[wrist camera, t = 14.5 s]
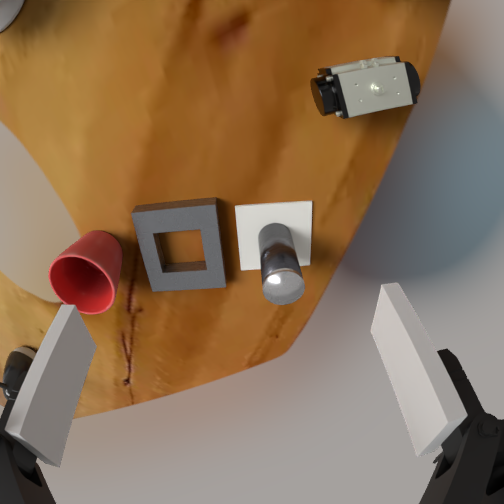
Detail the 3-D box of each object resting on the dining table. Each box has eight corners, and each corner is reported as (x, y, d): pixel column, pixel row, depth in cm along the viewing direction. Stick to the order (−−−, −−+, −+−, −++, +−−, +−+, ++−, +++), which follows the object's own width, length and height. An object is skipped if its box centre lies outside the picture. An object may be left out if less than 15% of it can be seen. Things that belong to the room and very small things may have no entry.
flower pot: (72, 215, 45) (44, 247, 37) (134, 229, 47) (115, 265, 39) (73, 268, 50) (51, 304, 42) (130, 282, 52) (115, 322, 44)
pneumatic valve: (387, 90, 37) (433, 103, 27) (308, 108, 39) (333, 124, 28) (377, 53, 34) (423, 53, 24) (296, 69, 36) (318, 70, 26)
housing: (135, 205, 45) (131, 213, 43) (216, 197, 45) (215, 204, 43) (155, 282, 52) (152, 291, 50) (226, 277, 52) (226, 287, 50)
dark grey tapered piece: (32, 339, 60) (8, 388, 48) (54, 367, 66) (36, 415, 53) (7, 340, 61) (-16, 385, 48) (29, 367, 67) (10, 411, 54)
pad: (234, 205, 46) (235, 206, 45) (311, 200, 46) (312, 201, 45) (241, 268, 52) (241, 270, 51) (309, 263, 52) (309, 265, 51)
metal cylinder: (257, 224, 47) (261, 274, 37) (291, 221, 47) (305, 270, 37) (259, 252, 50) (263, 306, 40) (291, 250, 50) (304, 302, 40)
